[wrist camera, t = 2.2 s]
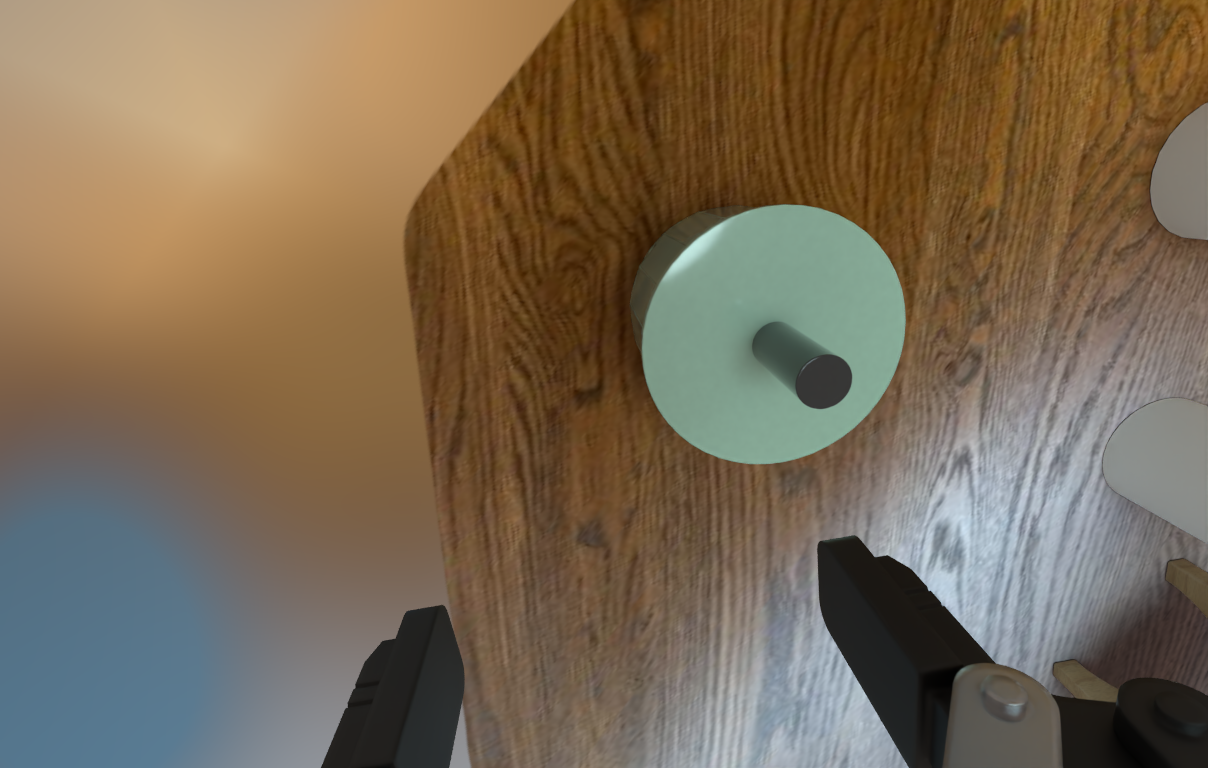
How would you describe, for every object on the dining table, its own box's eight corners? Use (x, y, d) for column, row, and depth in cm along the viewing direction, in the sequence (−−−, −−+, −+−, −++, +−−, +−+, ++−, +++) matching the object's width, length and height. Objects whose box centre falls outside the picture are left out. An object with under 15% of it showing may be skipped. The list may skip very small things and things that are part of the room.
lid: (587, 368, 31) (593, 421, 24) (754, 143, 28) (816, 131, 21) (777, 496, 34) (830, 574, 27) (945, 308, 31) (1052, 344, 24)
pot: (592, 326, 39) (601, 369, 30) (711, 164, 36) (759, 159, 27) (734, 425, 42) (780, 490, 33) (854, 282, 39) (939, 312, 30)
